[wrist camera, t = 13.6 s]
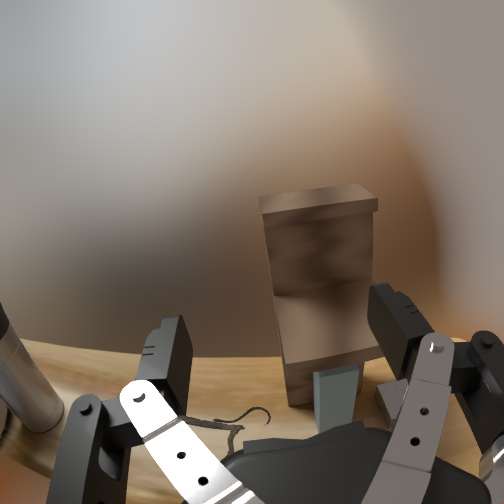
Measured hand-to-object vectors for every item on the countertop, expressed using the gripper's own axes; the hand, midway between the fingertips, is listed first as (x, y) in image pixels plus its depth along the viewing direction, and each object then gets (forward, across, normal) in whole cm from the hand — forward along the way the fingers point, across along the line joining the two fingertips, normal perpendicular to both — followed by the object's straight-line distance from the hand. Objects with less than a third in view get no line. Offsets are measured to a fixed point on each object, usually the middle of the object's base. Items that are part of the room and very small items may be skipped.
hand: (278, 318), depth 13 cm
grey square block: (+10, -16, +28) cm, 33 cm away
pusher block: (+10, -6, +27) cm, 30 cm away
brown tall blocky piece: (+11, -6, +27) cm, 30 cm away
